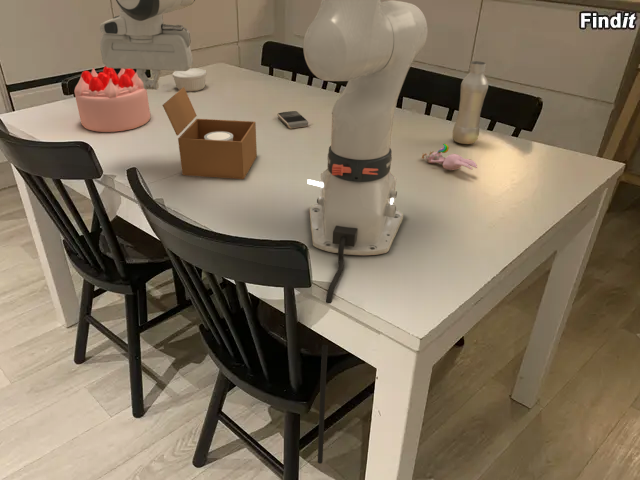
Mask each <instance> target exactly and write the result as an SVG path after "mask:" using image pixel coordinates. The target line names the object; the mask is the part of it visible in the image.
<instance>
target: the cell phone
mask: <svg viewBox="0 0 640 480" xmlns="http://www.w3.org/2000/svg"><path fill="white" fill-rule="evenodd" d="M277 117H278V119H279V120H280V121H281V122H282V123H283V124H284V125H285V126H286V127H287V128H288V129H291V130H292V129H297V128H306V127H307V126H308V125H309V120H307V119H306V118H305V116H303V115H302V114H301V113H299V112H298V111H296V110H291V111H283V112H278V113H277Z"/></svg>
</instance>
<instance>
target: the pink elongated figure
mask: <svg viewBox="0 0 640 480" xmlns="http://www.w3.org/2000/svg"><path fill="white" fill-rule="evenodd" d="M442 144H443V147H441V148H439V149H438V150H437V151H435V150H432V151H431V150H429V153H428V154H427V153H426V152H425V153H422V155H421V159H422V160H424V159H426V162H427V163H428V164H439V165H442V167H443V169H445V170H448V171H453V170H454V171H455V170H458V169H460V168H461V167H465V168H467V169H469V170H473V168H475V169H478V165H477V163H476V161H474V160H472V159H470V158H464V157H463V156H461V154H457V153H450V154H448V155H446V157H444V156H443V154H445V153H447V152H449V150H450V146H449V145H448V144H447V143H442Z"/></svg>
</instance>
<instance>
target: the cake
mask: <svg viewBox="0 0 640 480" xmlns="http://www.w3.org/2000/svg"><path fill="white" fill-rule="evenodd" d="M74 96H75V101H76V106H77V110H78V111H77V112H78V116H79V120H80V124H81V125H82V127H83V128H85V129H86V130H89V131H93V132H100V133H101V132H102V133H114V132H115V133H116V132H123V131H128V130H132V129H136V128H140V127H142V126H145V124H148V122H149V121H150V120H151V111H150V103H149V97H148V96H149V95H148V89H144V85H143V82H142V80H141V79H140V77H139V76H138V75H137V71H135V69H124V68H120V70H119V72H118V73H117V72H116V70H115V68H107V67H106V66H105V65H104V67H103V70H102V71H99V72H98V73H97V71H96V70H95V67H92V68H91V72H90V71H89V70H84V71H82V72H81V75H80V78H79V80H78V82H77V84H76V85H75V87H74Z"/></svg>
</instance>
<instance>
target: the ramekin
mask: <svg viewBox="0 0 640 480" xmlns="http://www.w3.org/2000/svg"><path fill="white" fill-rule="evenodd" d="M172 78H173V80H174V83H175V87H176V89H177V90H178V91H179V90H181V89H182V88H183V87H184V88H185V90H186V93H191V92H197V91H201V90H203V89H204V88H205V87H206V81H207V80H206V79H207V71H206V69H203V68H198V67H191V68H190V69H189V70H187V71H172Z"/></svg>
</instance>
